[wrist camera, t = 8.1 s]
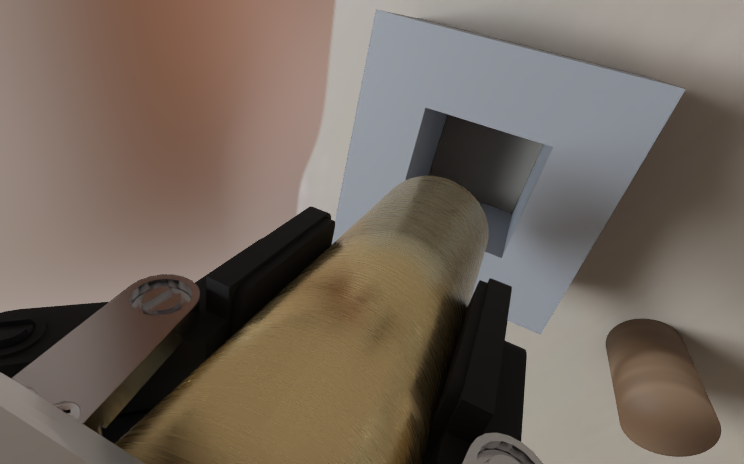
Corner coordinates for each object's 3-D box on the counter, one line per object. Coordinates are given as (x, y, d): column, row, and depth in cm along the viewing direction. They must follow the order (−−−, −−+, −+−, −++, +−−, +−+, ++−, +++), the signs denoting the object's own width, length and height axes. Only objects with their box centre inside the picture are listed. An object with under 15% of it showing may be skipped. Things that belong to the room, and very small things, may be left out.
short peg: (626, 308, 24) (646, 379, 19) (700, 337, 23) (742, 420, 18) (593, 354, 26) (604, 430, 21) (659, 382, 25) (687, 469, 20)
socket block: (416, 18, 22) (376, 9, 17) (649, 77, 19) (686, 89, 14) (370, 208, 28) (330, 244, 23) (542, 275, 25) (540, 334, 20)
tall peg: (392, 159, 14) (-60, 488, 3) (506, 199, 13) (350, 809, 3) (368, 254, 15) (34, 642, 5) (465, 295, 15) (283, 856, 4)
